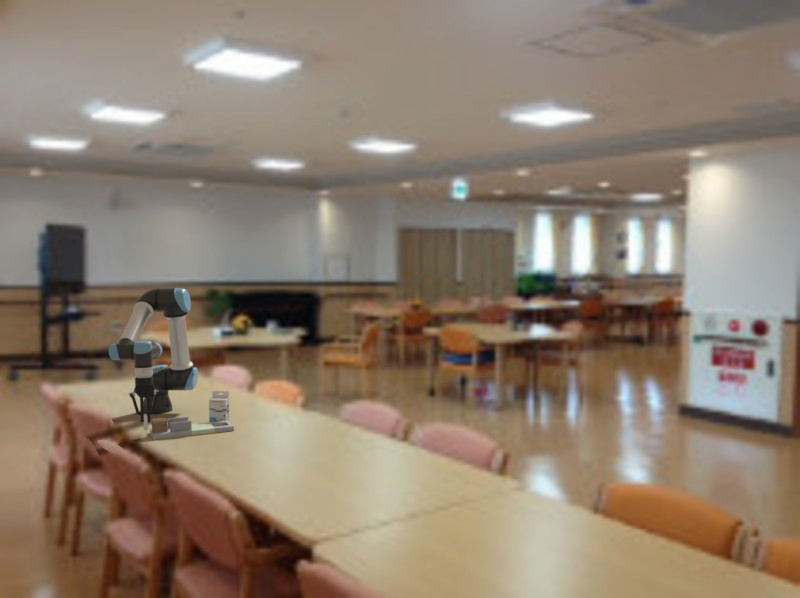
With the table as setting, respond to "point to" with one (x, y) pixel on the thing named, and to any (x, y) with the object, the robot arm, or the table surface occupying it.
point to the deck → (191, 428)
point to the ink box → (219, 406)
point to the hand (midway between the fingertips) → (145, 429)
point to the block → (159, 425)
